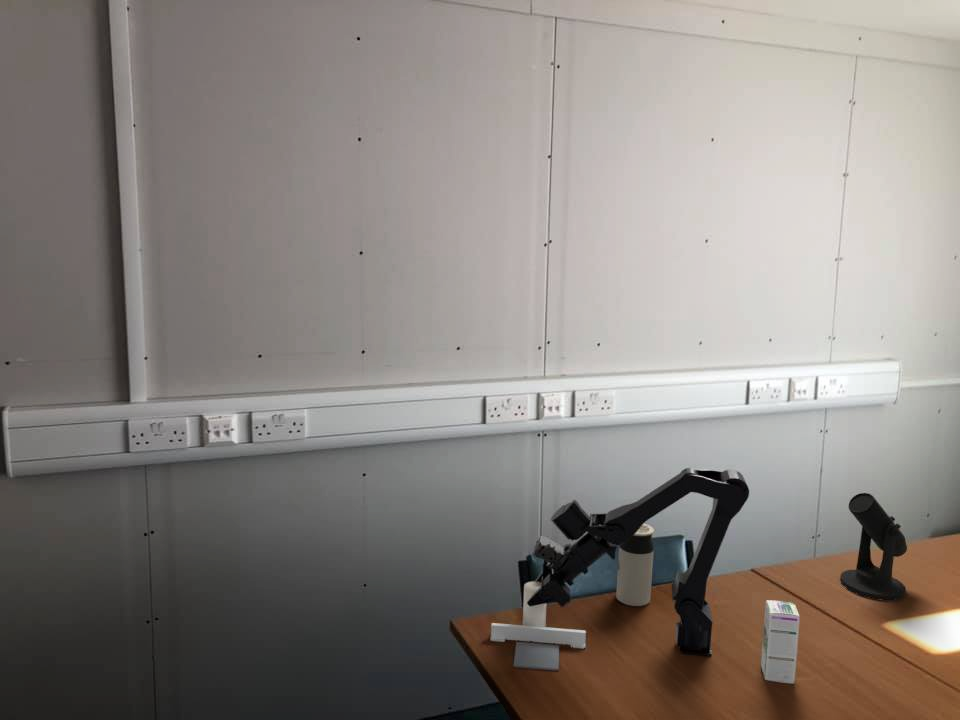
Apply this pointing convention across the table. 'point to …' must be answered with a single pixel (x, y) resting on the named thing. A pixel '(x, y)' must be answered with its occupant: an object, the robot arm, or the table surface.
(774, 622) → the syrup box
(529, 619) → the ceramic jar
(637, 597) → the travel mug
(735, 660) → the table surface
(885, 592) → the microphone
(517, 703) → the table surface
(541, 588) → the robot arm
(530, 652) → the slate mat
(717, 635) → the table surface
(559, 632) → the light grey long bar
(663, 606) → the table surface
